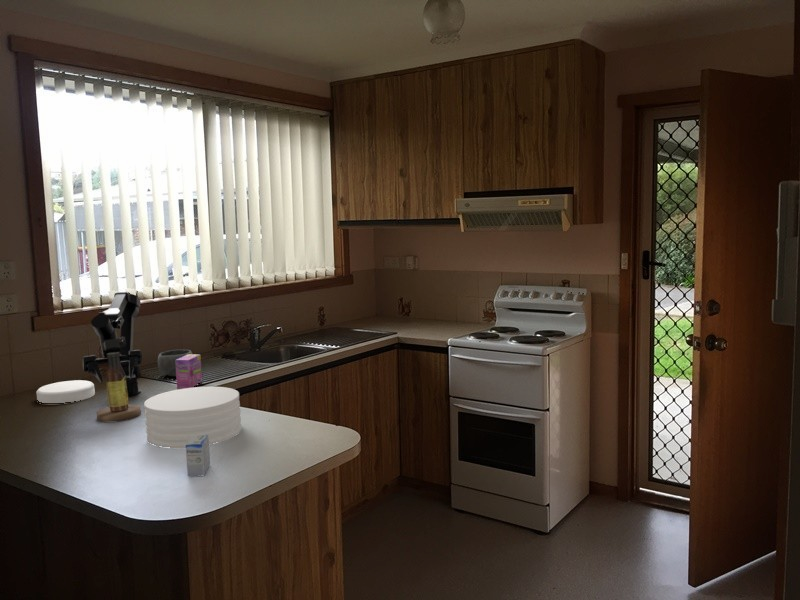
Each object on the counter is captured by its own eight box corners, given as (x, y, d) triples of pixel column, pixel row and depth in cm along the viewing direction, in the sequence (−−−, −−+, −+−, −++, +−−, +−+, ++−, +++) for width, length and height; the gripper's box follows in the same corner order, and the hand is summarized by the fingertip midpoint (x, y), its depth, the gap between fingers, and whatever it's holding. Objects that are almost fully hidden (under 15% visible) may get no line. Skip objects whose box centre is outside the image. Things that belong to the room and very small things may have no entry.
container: (58, 407, 254) (57, 394, 253) (25, 401, 264) (24, 389, 263) (106, 394, 271) (105, 382, 270) (73, 389, 281) (72, 377, 280)
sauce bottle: (132, 409, 238) (126, 352, 236) (113, 413, 234) (108, 355, 231) (124, 406, 243) (119, 350, 240) (106, 410, 239) (100, 353, 236)
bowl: (189, 378, 290) (187, 355, 289) (153, 380, 290) (151, 356, 289) (199, 370, 305) (198, 348, 304) (165, 371, 305) (164, 349, 304)
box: (190, 389, 272) (188, 359, 271) (176, 389, 273) (174, 359, 272) (202, 382, 282) (200, 354, 281) (189, 382, 283) (187, 354, 282)
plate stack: (126, 444, 208) (123, 407, 207) (187, 417, 234) (184, 384, 233) (204, 453, 198) (201, 414, 197) (258, 424, 224) (256, 389, 222)
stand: (87, 419, 235) (87, 413, 235) (120, 408, 248) (120, 403, 248) (117, 423, 229) (117, 417, 229) (149, 412, 242) (149, 406, 242)
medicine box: (193, 466, 187) (191, 435, 186) (210, 465, 188) (208, 434, 187) (187, 477, 179) (184, 444, 178) (205, 476, 180) (202, 443, 179)
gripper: (80, 333, 234) (86, 371, 226) (138, 326, 243) (146, 363, 235) (80, 352, 242) (86, 390, 234) (137, 345, 251) (144, 381, 242)
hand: (116, 380), depth 236 cm, fingers open, 9 cm apart
